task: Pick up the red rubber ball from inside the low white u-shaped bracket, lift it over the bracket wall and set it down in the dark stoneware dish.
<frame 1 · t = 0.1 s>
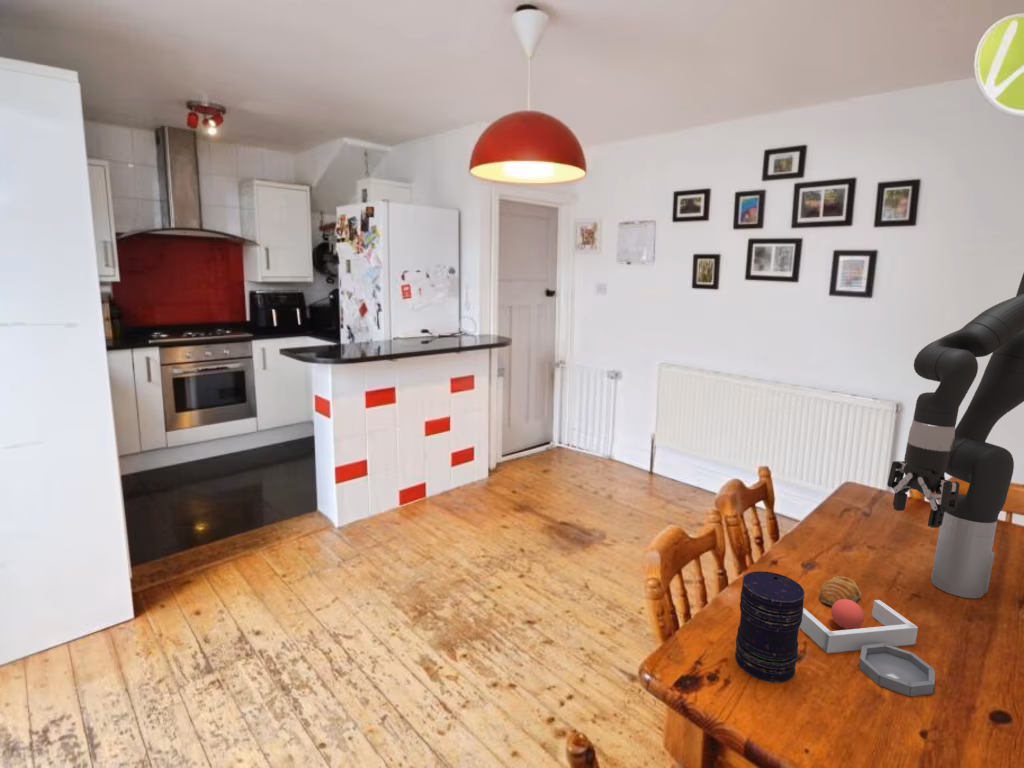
hand: (915, 518, 120), 17 cm above the table, tool pointing down, fingers open, 8 cm apart
dish: (895, 673, 98), on the table
ball: (845, 627, 111), on the table
white u-shaped bracket: (849, 630, 110), on the table
pastry: (838, 599, 121), on the table
dark blue ridged cylinder: (764, 664, 100), on the table
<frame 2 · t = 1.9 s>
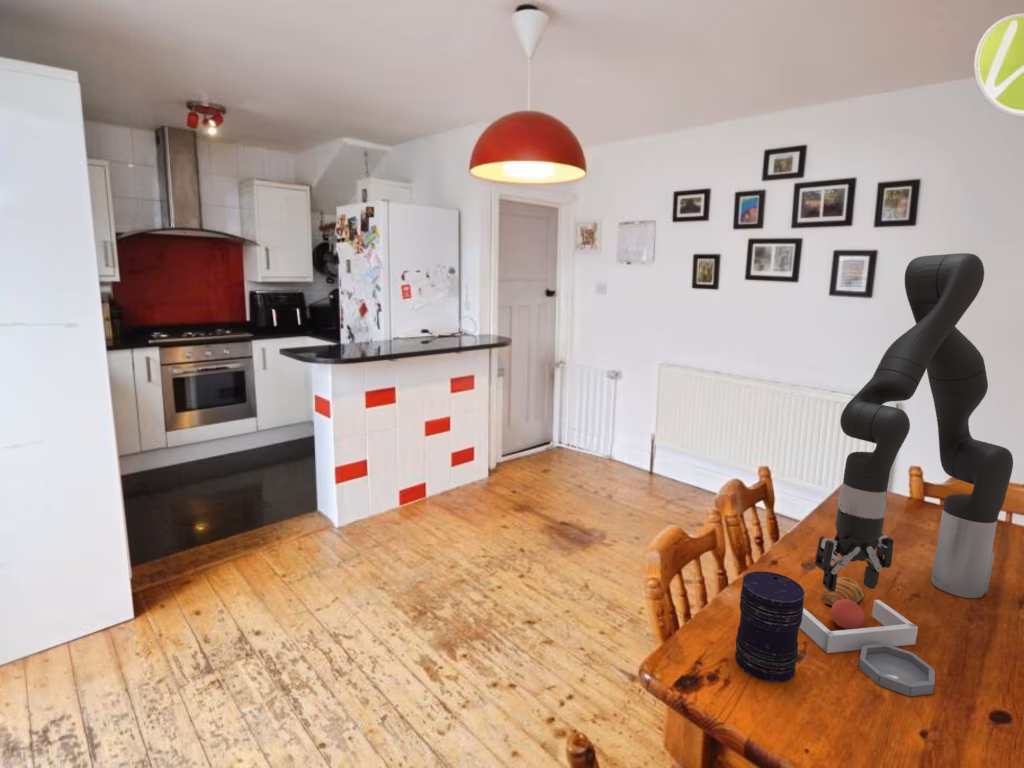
hand: (849, 588, 109), 8 cm above the table, tool pointing down, fingers open, 8 cm apart
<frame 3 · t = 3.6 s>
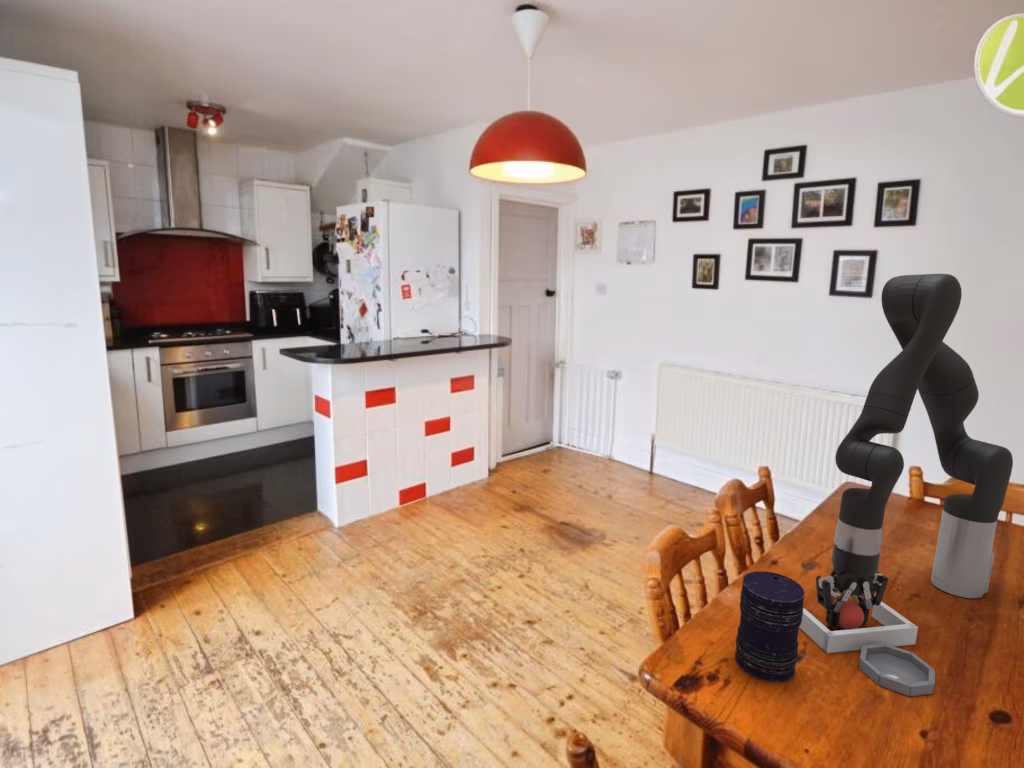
hand: (845, 624, 111), 0 cm above the table, tool pointing down, fingers closed on ball, 5 cm apart
ball: (845, 627, 111), on the table, touching gripper
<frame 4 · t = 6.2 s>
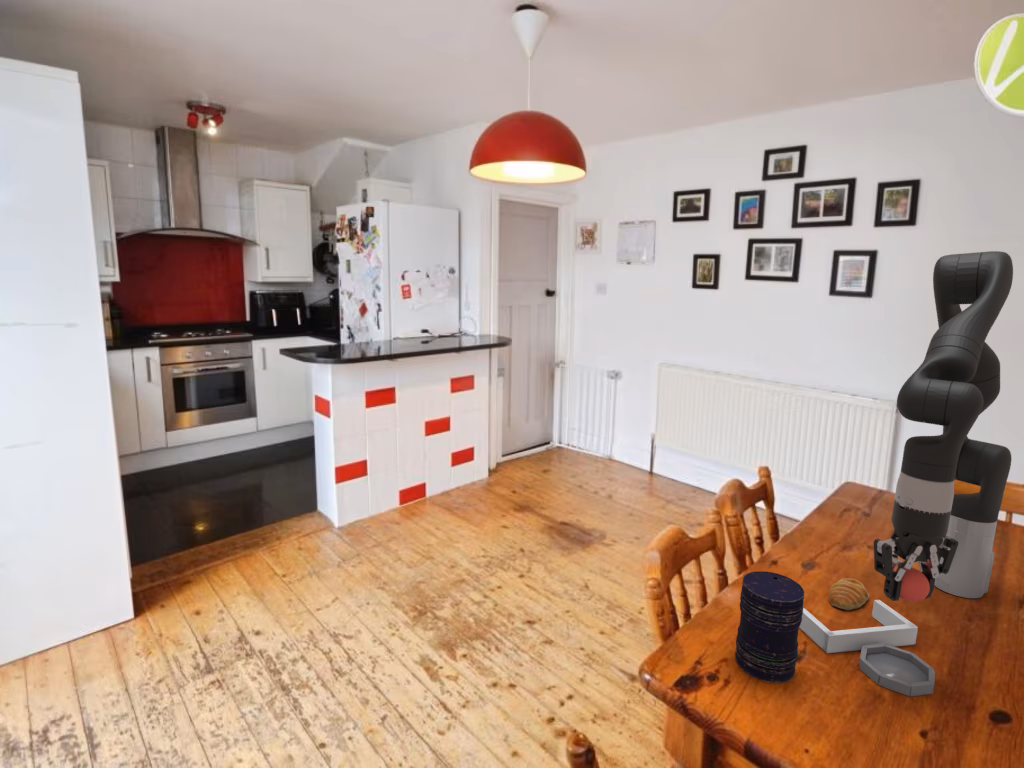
hand: (907, 596, 95), 14 cm above the table, tool pointing down, fingers closed on ball, 5 cm apart
ball: (906, 599, 95), point 14 cm above the table, touching gripper
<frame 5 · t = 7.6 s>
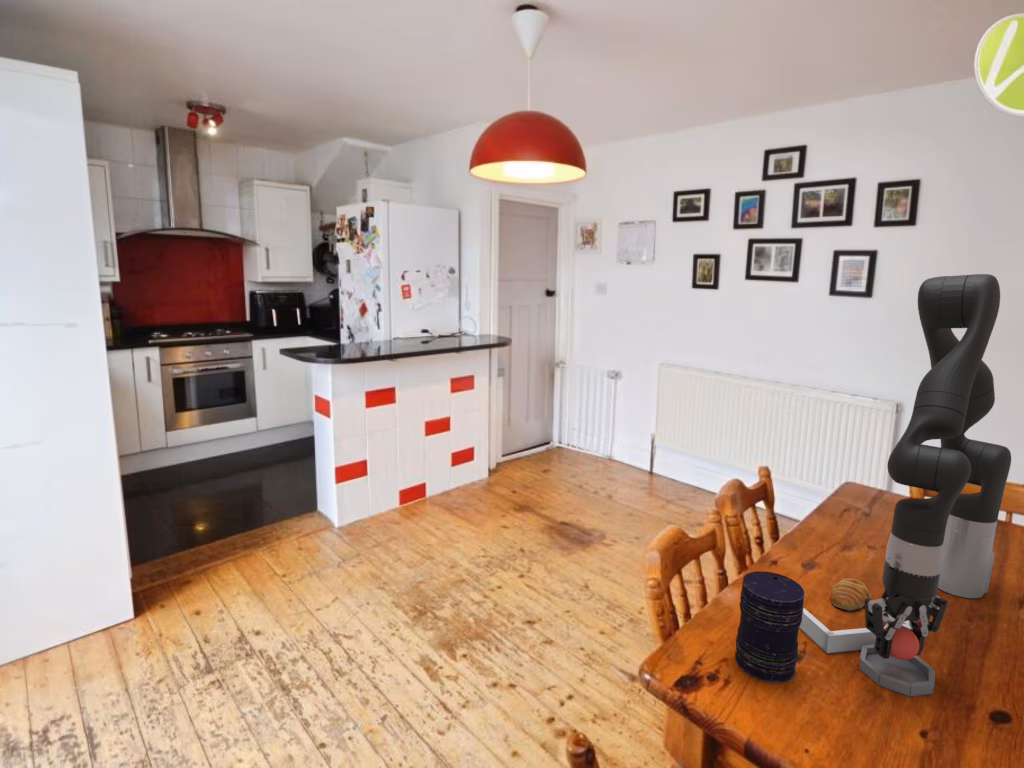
hand: (897, 653, 97), 4 cm above the table, tool pointing down, fingers closed on ball, 5 cm apart
ball: (897, 656, 97), point 3 cm above the table, touching gripper
when the fingers open (2 cm above the table, at t = 8.8 s): ball drops 1 cm, resting on dish.
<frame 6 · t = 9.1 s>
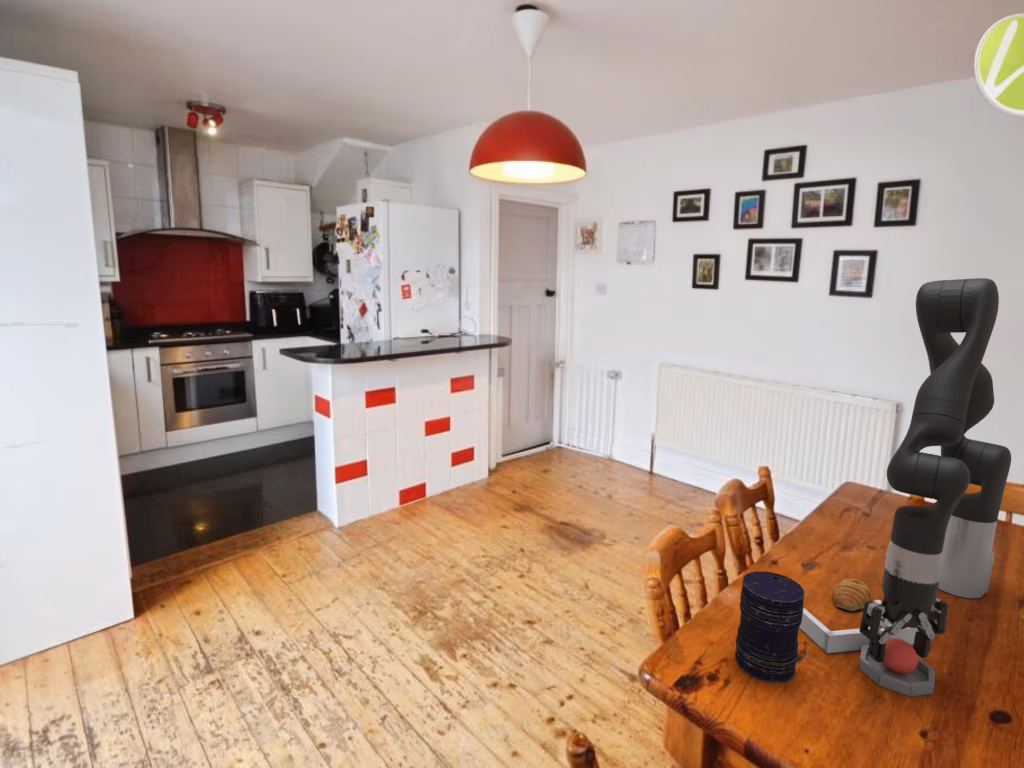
hand: (897, 657, 97), 3 cm above the table, tool pointing down, fingers open, 8 cm apart
ball: (895, 669, 98), point 1 cm above the table, touching dish
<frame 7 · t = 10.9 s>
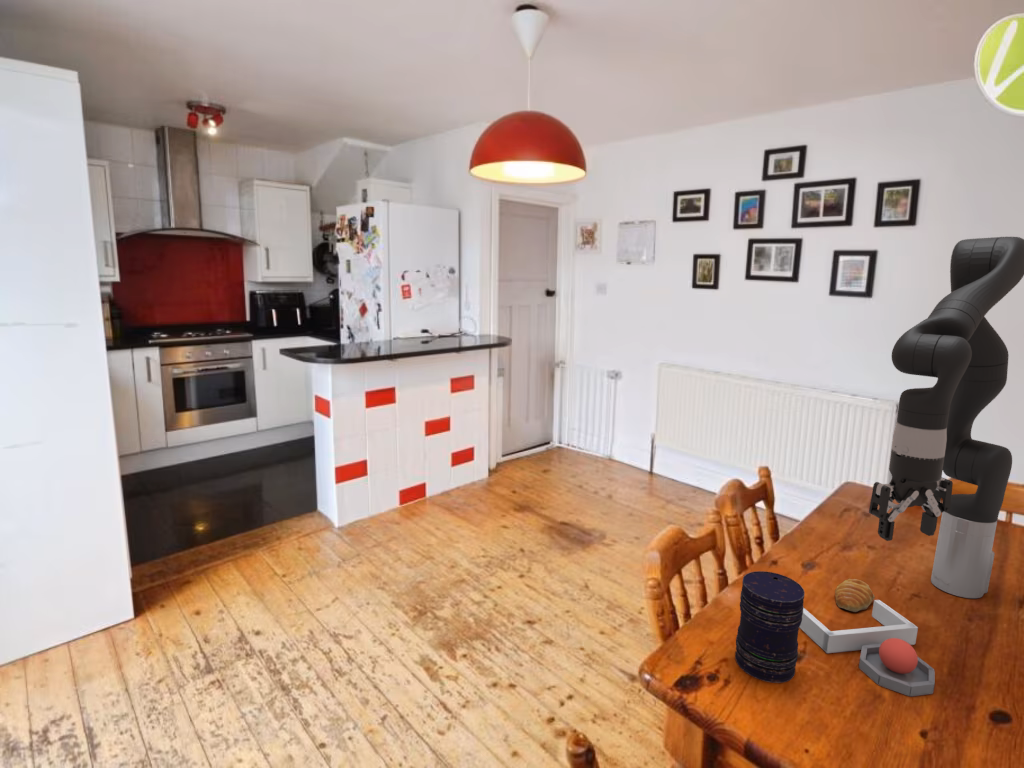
hand: (906, 536, 102), 21 cm above the table, tool pointing down, fingers open, 8 cm apart
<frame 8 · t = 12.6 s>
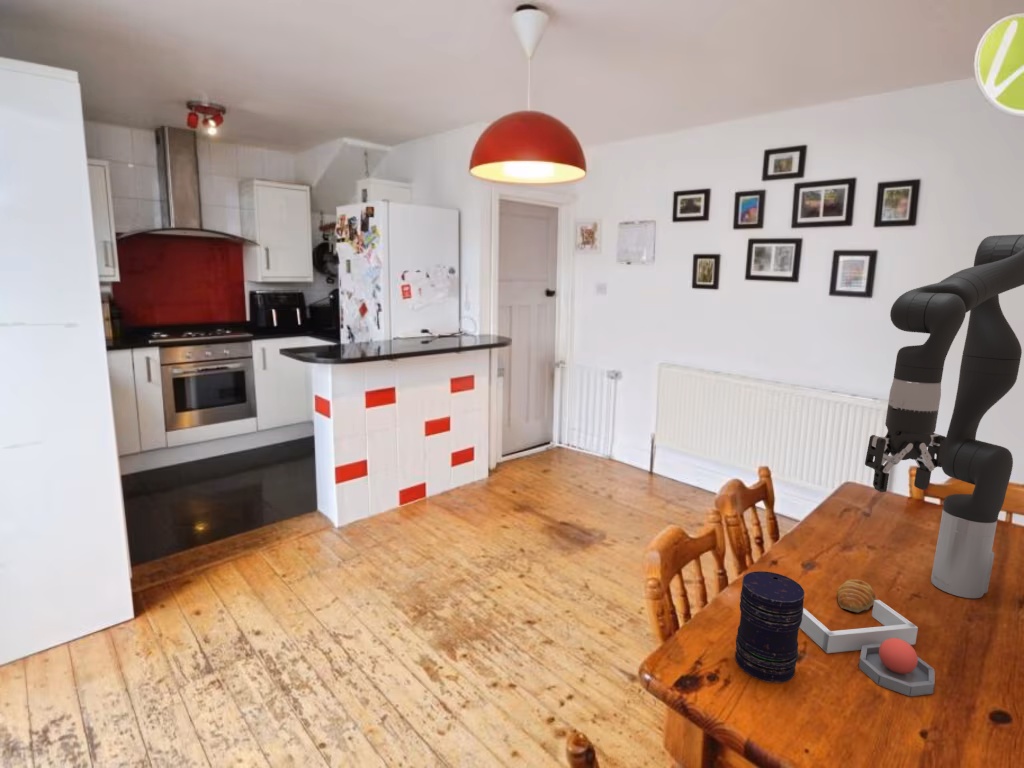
hand: (900, 489, 106), 28 cm above the table, tool pointing down, fingers open, 8 cm apart
at the end: ball inside the target area on the dish (0.0 cm from its centre), point 0.6 cm above the dish's base; the gripper is holding nothing; ball touching dish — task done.
